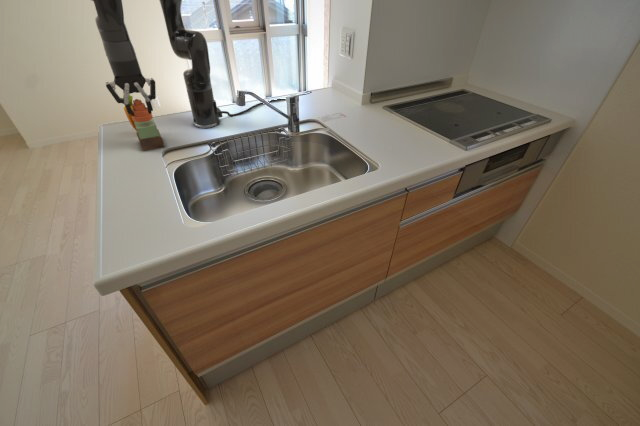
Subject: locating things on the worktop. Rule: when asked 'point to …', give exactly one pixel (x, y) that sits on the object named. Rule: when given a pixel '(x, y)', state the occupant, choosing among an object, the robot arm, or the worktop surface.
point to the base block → (151, 142)
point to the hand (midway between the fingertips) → (141, 113)
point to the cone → (140, 112)
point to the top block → (146, 129)
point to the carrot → (130, 114)
